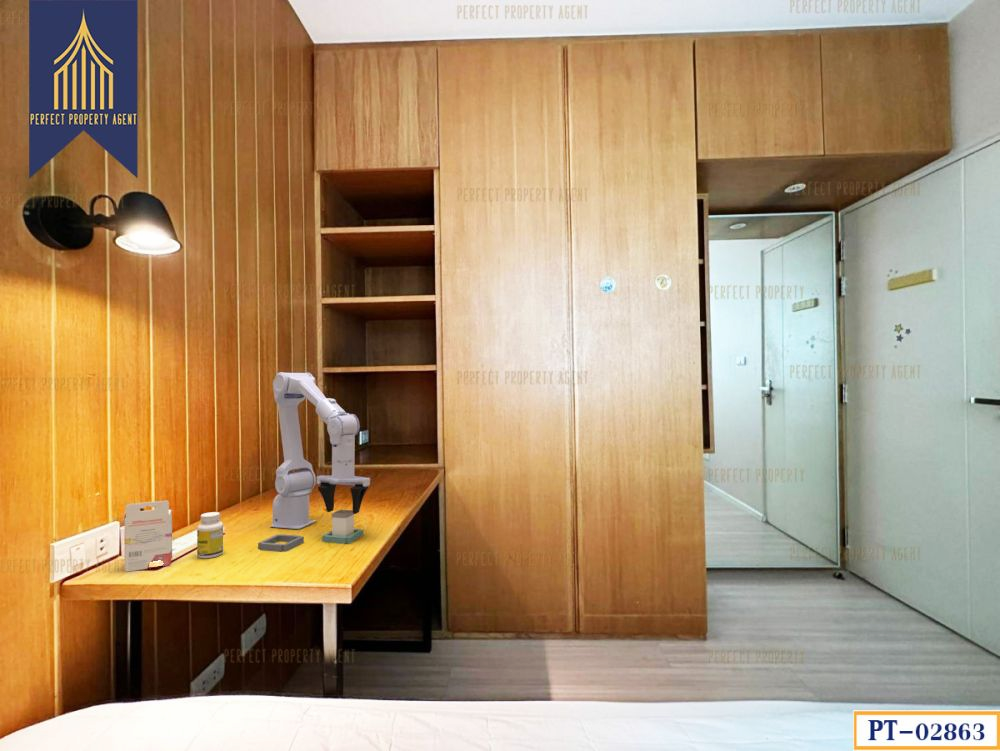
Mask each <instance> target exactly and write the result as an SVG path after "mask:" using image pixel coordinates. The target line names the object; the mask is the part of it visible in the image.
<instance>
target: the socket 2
mask: <svg viewBox="0 0 1000 751" xmlns="http://www.w3.org/2000/svg"><path fill="white" fill-rule="evenodd" d="M364 532H365V530H364V529H361V528H354V533H353V534H351V535H350V536H348V537H344V536H332V530H330V531H327V532H326V533H324V534H322V536H321V541H322V542H324V543H329V542H336V543H335V544H342V543H346V544H352V543H353V542H355V541H356V539H357V538H358V539H360V538H361V536H362V535H363V536H364ZM363 536H362V537H363ZM359 537H360V538H359ZM358 539H357V540H358ZM354 540H355V541H354ZM352 541H353V542H352ZM351 542H352V543H351Z"/></svg>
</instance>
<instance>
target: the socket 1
mask: <svg viewBox="0 0 1000 751" xmlns="http://www.w3.org/2000/svg"><path fill="white" fill-rule="evenodd" d="M278 542H286V543H278ZM304 543H305V538H304V536H302V535H296V534H295V535H294V534H283V533H281V534H275V535H272V536H270V537H268V538H266V539H263V540H260V541H259V542H258V543H257V549H258V550H260V551H269V552H270V551H271V552H289V550H292V549H294V548H295V547H298V546H299V545H301V544H304Z"/></svg>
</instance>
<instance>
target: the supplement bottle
mask: <svg viewBox="0 0 1000 751" xmlns="http://www.w3.org/2000/svg"><path fill="white" fill-rule="evenodd" d="M220 519H221V514H220V512H218V511H212V512H209V511H208V512H205V513H202V514H201V515H200V522H201V523H199V524H198V525H197V529H196V532H197V533H196V536H197V540H196V541H197V543H196V548H197V549H196V550H197V551H196V552H197V553H196V554H197V555H196V556H197V557H198V558H200V559H211V558H216V557H219V556H220V555H222V554H223V553H224V524H223V522H222V521H221V520H220Z"/></svg>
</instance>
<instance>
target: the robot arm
mask: <svg viewBox="0 0 1000 751" xmlns="http://www.w3.org/2000/svg"><path fill="white" fill-rule="evenodd" d="M272 389H273V395H274V396H273V398H274V402H275V403H276V404H277V410H278V420H279V428H280V436H281V444H282V451H283V452H282V453H283V462H282V463H281V464H280V466H278V468H277V469H276V470H275V475H276V477H275V482H274V486H275V489H276V491H277V493H278V494H277V495H275V497H274V499H273V502H272V524H270V528H277V529H278V528H280V529H290V530H301V529H303V528H305V527H307V526H310V525H312V524H315V522H316V519H310V493H312V491H313V489H315V486H316V484H317V485H319V486H317V490H318V491H319V493H320V495H321V497H322V499H323V502H324V505H325V506H324V507H325V509H326V510H325V511H326V513H330V512H333V511H334V508H335V492H336V487H337V485H341V486H342V485H343V486H352V487H350V493H351V498H352V510H353V514H354V515H357V514H359V513H360V510H361V505H362V501H363V499H364V497H365V494H366V492H367V490H368V488H369V486H370V485H371V478H370V477H366V476H365V477H364V476H357V475H355V451H356V449H355V447H356V445H355V443H356V442H355V440H356V439H355V438H356V437H355V436H356V435H358V433H359V431H360V427H361V426H360V421H359V418H358V417H357V415H356V414H353V413H348V412H346V411H345V410H344V409H343V408H342V407H341V406H340V404H338V403H337V400H336V399H335V398H330V397H328V398H327V397H326V396H325V395H324V393H323V392H322V391H321V390H320V388H319V387H318V386H317V385H316V378H315V377H314V376H313V374H312V373H311V372H283V371H279V372H278V373H277V374H276V375H275V377H274V379H273V382H272ZM305 399H306V400H308V401H309V402H310V403H311V404H312V405H313V406H315V413H316V414H317V415H318V417H319V418H320V419H321V420H322V421H323V422H324V423H325V424H326V428H327V433H328V435H329V442H330V444H331V475H330V474H329V475H325V474H324V475H318V476H316V474H315V472H314V469H313V465H312V463H310V462H309V461H308V460H306V459H305V458H304V450H303V443H302V435H301V427H300V420H299V419H300V418H299V410H298V406H299V404H300V403H301V402H304V401H305Z"/></svg>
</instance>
